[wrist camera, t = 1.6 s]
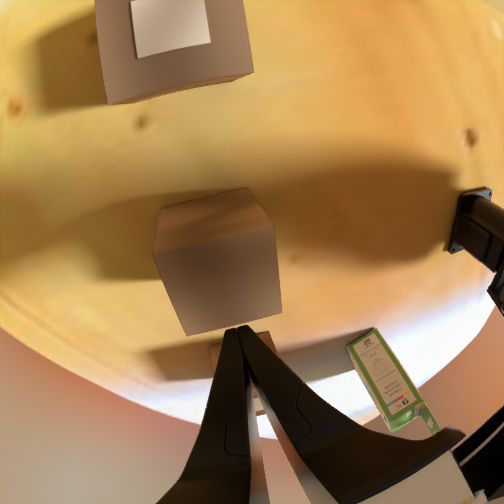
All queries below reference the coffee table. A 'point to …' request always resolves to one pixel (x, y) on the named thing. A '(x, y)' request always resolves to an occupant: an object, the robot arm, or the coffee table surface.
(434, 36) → the coffee table surface
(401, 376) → the ink box
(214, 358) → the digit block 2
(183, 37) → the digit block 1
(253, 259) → the plain block
